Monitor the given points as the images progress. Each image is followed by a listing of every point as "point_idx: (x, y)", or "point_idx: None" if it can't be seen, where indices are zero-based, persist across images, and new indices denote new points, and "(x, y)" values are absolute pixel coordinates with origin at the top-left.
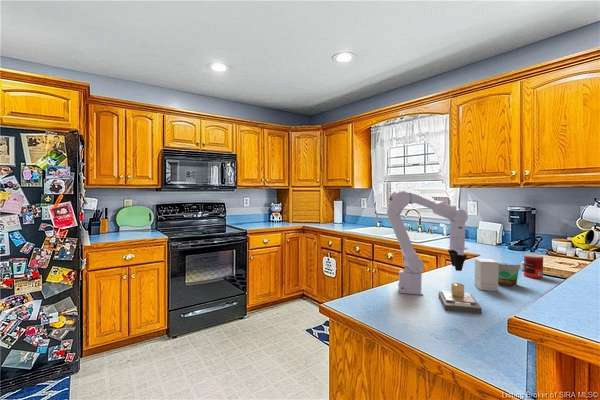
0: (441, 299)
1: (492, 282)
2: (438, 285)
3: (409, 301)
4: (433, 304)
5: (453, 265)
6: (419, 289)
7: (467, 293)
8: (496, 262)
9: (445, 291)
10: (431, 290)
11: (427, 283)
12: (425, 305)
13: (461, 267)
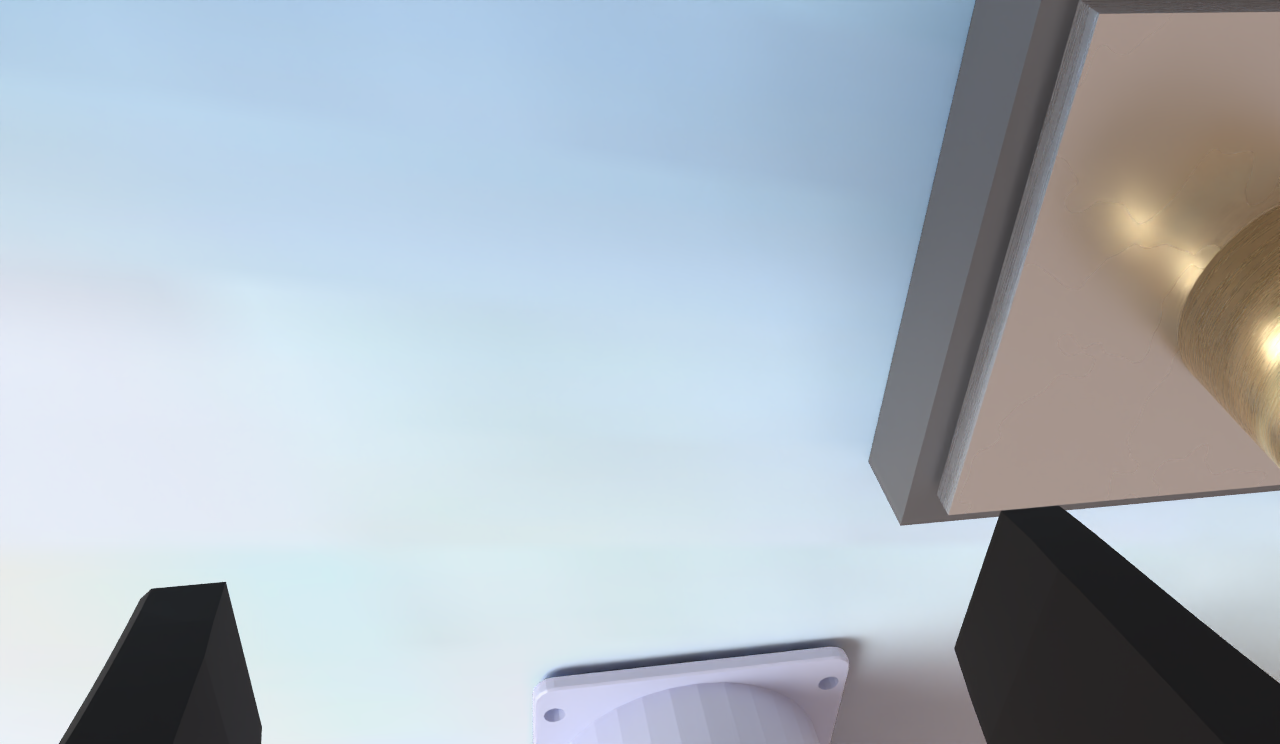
0: None
1: None
2: (95, 440)
3: None
4: (1217, 526)
5: (257, 731)
6: (802, 741)
7: (1162, 60)
8: None
9: (1015, 463)
10: (540, 550)
11: (54, 611)
12: (1239, 600)
13: (1169, 629)
